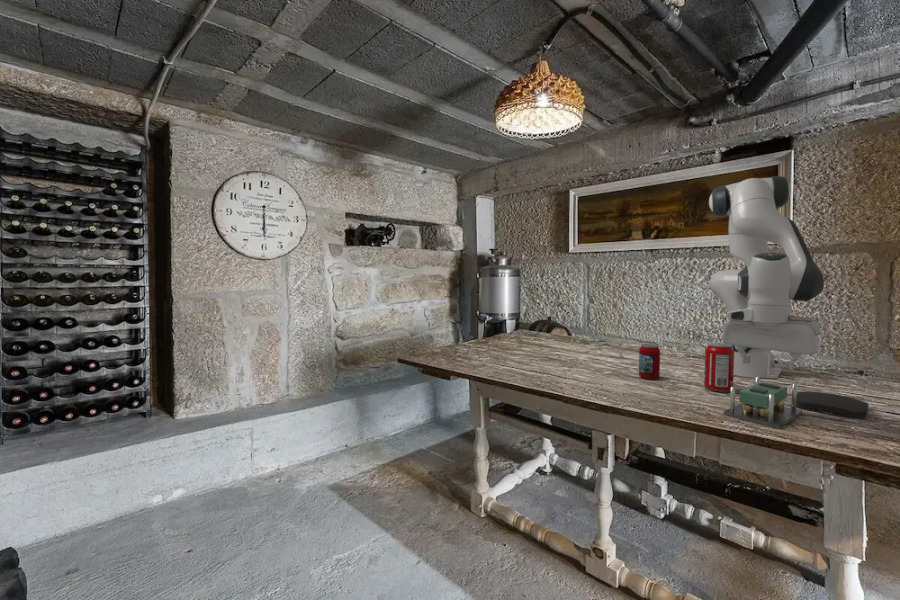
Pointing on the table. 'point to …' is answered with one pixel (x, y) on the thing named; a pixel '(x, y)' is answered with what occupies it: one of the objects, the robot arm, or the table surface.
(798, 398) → the media streaming box
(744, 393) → the board
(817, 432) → the table surface
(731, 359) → the soda can
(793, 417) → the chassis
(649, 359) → the beverage can
